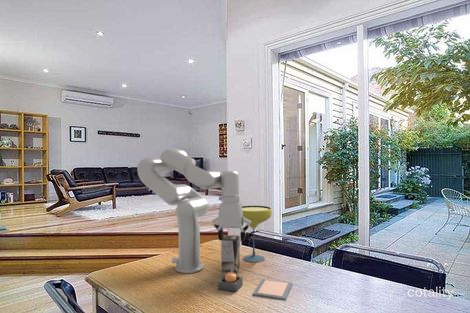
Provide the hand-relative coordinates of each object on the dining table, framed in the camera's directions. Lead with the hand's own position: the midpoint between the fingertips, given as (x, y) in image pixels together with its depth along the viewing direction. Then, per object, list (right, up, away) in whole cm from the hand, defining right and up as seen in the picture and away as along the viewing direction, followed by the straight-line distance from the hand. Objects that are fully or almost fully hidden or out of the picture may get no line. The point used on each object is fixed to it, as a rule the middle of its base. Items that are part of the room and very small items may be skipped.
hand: (231, 240), depth 127 cm
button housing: (0, -15, -12) cm, 19 cm away
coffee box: (0, -15, 0) cm, 15 cm away
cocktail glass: (+11, -15, +22) cm, 29 cm away
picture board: (+16, -15, -14) cm, 26 cm away
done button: (0, -13, -12) cm, 17 cm away
